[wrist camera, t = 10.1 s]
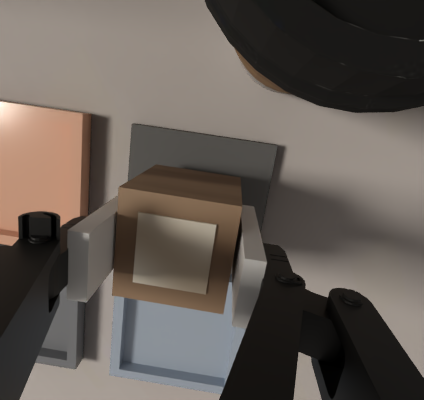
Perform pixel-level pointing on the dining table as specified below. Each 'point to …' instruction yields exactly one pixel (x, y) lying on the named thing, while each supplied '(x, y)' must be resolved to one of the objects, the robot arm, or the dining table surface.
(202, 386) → the tray slate
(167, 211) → the letter block
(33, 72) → the dining table surface
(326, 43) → the coffee cup
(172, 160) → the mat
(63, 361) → the tray charcoal
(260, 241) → the robot arm
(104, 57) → the dining table surface
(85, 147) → the tray terracotta
